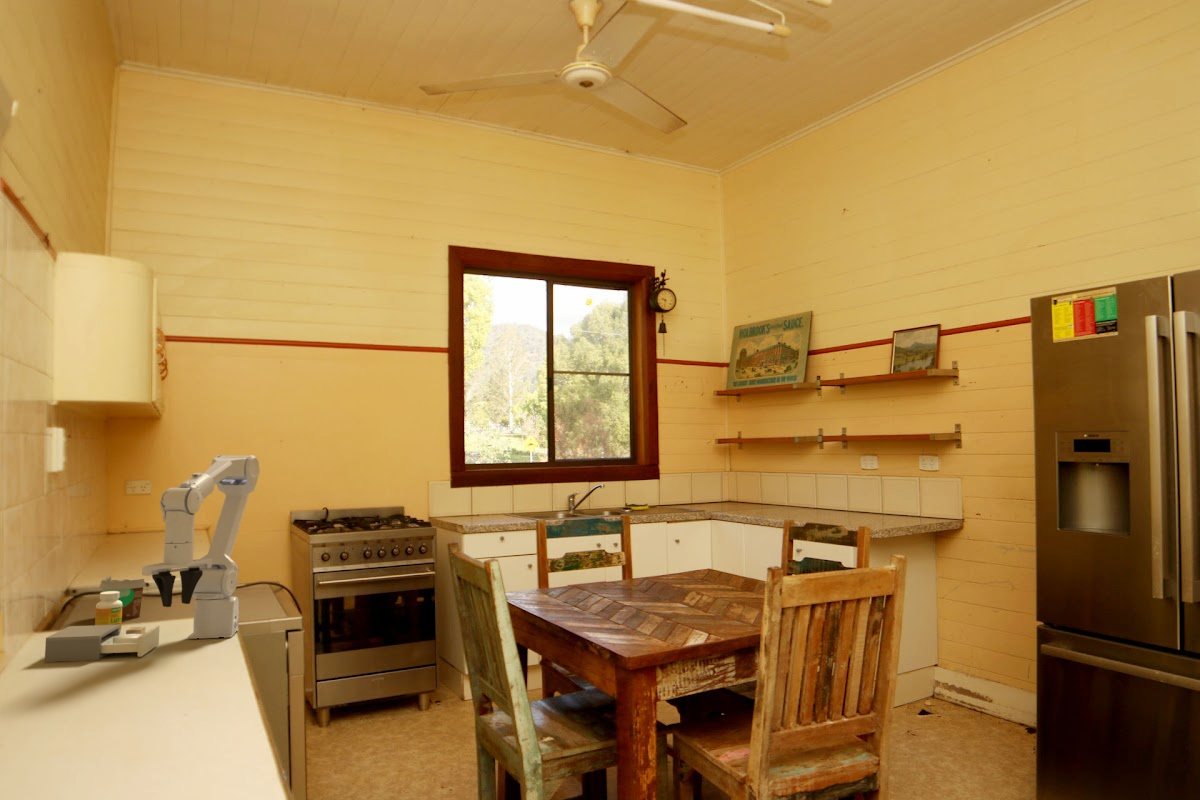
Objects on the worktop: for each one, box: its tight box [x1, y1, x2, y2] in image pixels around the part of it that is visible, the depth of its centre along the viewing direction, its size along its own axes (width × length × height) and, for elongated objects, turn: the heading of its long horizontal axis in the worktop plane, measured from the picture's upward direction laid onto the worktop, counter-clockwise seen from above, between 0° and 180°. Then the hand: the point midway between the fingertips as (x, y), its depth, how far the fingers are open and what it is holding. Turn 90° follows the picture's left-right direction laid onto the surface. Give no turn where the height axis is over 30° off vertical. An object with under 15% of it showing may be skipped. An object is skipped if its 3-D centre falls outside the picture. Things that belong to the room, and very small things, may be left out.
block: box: [125, 626, 147, 635], centre depth 178 cm, size 3×3×4 cm
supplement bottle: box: [94, 591, 123, 634], centre depth 189 cm, size 5×5×10 cm
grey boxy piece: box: [44, 624, 121, 663], centre depth 169 cm, size 10×11×5 cm
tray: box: [101, 625, 160, 657], centre depth 171 cm, size 10×11×4 cm
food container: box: [99, 576, 146, 621], centre depth 206 cm, size 12×6×10 cm, turn 73°
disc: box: [113, 633, 142, 644], centre depth 171 cm, size 6×6×2 cm
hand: (176, 604), depth 173 cm, fingers open, 4 cm apart
